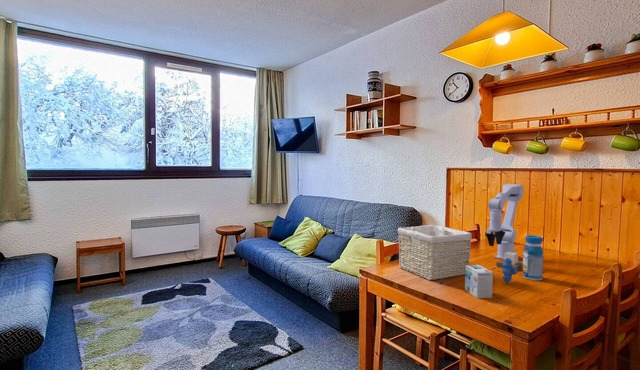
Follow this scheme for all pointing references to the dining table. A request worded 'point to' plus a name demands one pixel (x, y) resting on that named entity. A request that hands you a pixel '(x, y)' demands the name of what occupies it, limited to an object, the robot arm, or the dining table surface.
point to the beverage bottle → (533, 258)
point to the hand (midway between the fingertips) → (495, 245)
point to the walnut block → (517, 266)
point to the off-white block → (511, 257)
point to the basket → (434, 251)
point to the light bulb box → (478, 281)
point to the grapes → (508, 270)
